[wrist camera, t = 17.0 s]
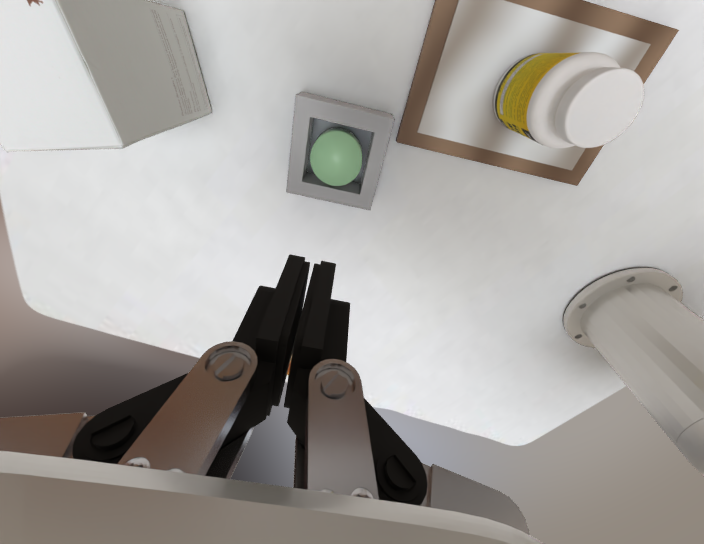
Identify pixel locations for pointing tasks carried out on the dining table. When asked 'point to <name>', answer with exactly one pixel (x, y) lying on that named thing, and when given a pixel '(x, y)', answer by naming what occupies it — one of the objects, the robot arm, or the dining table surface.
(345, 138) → the button
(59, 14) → the supplement box
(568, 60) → the supplement bottle
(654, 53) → the board
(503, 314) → the dining table surface
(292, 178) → the button housing
